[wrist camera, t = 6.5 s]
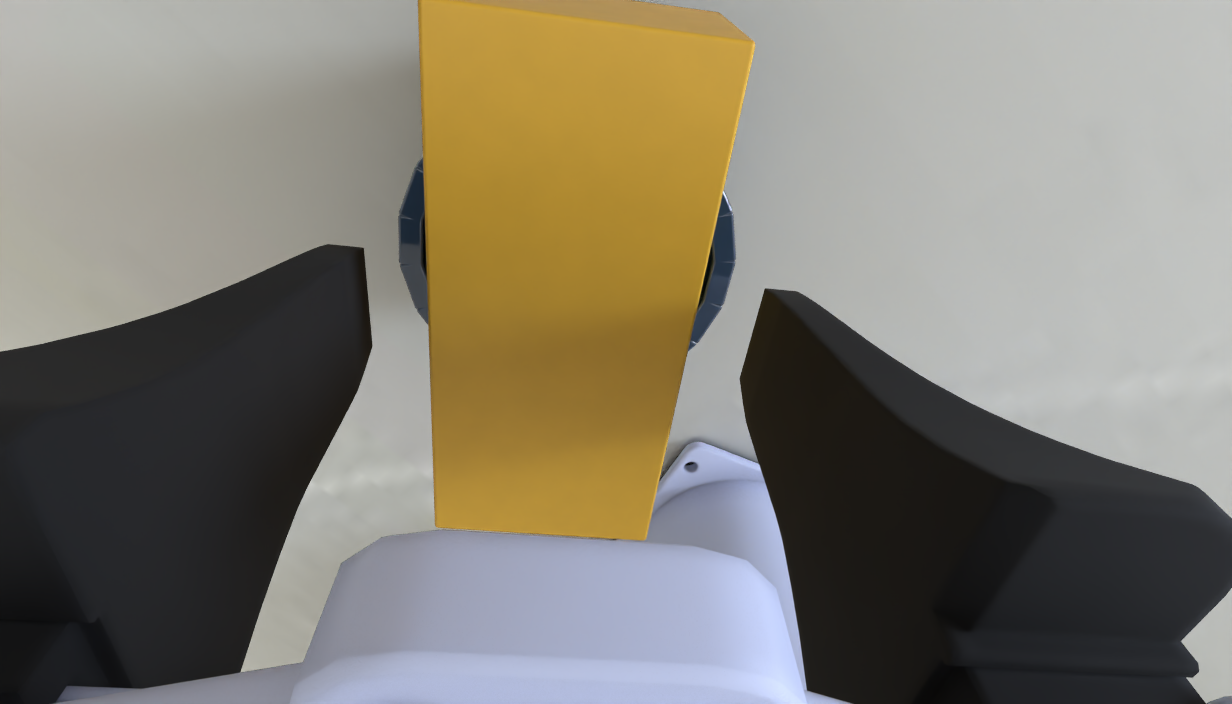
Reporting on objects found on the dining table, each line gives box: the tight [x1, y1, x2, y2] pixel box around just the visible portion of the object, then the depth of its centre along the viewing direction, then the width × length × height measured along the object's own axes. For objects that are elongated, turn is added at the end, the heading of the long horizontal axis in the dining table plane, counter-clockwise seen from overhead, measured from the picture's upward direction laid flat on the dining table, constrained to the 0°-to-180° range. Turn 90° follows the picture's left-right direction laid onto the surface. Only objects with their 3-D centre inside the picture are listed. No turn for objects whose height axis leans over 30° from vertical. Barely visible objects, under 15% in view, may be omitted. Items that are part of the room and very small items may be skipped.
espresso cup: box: [398, 156, 736, 351], centre depth 17 cm, size 7×7×6 cm
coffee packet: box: [418, 0, 755, 541], centre depth 13 cm, size 10×4×3 cm, turn 173°
